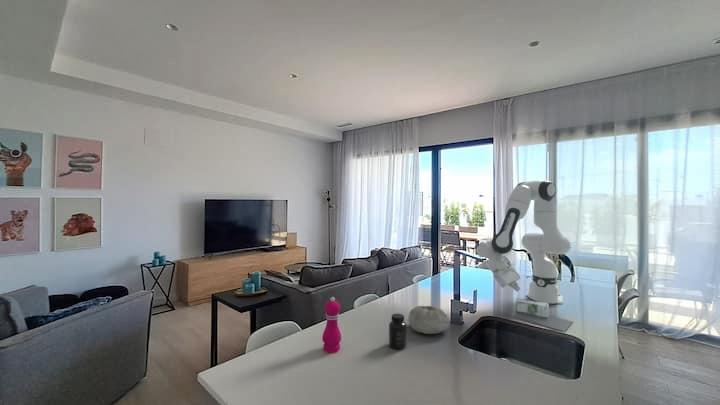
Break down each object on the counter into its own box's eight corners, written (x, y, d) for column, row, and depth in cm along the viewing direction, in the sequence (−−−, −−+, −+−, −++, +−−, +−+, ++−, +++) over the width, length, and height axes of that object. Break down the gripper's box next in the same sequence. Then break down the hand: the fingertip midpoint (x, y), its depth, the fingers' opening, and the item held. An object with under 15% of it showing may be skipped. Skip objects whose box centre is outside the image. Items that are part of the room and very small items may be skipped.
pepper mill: (326, 355, 107) (327, 301, 107) (319, 346, 113) (320, 295, 113) (344, 351, 110) (345, 298, 110) (336, 343, 117) (337, 293, 116)
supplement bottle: (407, 343, 117) (408, 313, 117) (404, 351, 111) (405, 320, 111) (390, 340, 120) (391, 311, 119) (386, 348, 113) (387, 317, 113)
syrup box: (516, 308, 157) (548, 314, 150) (515, 312, 152) (548, 318, 145) (516, 297, 157) (548, 303, 150) (516, 301, 152) (549, 306, 145)
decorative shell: (415, 318, 142) (416, 298, 142) (453, 327, 133) (453, 305, 133) (402, 333, 127) (402, 310, 127) (443, 343, 118) (444, 319, 118)
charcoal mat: (523, 309, 157) (523, 308, 157) (572, 322, 141) (573, 321, 141) (512, 317, 146) (512, 316, 146) (564, 332, 130) (564, 331, 130)
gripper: (496, 267, 150) (516, 291, 143) (510, 262, 164) (529, 283, 157) (487, 274, 153) (506, 297, 146) (502, 268, 167) (520, 289, 160)
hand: (518, 290), depth 152 cm, fingers closed
